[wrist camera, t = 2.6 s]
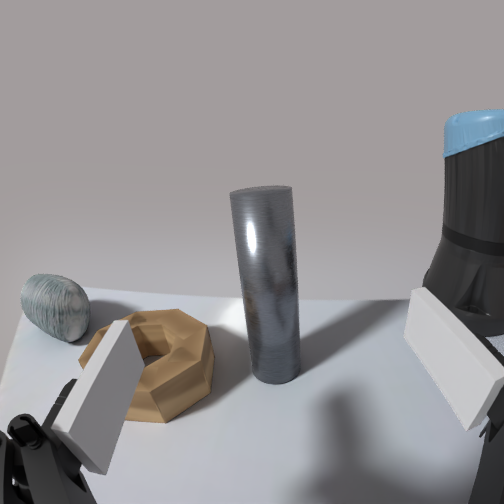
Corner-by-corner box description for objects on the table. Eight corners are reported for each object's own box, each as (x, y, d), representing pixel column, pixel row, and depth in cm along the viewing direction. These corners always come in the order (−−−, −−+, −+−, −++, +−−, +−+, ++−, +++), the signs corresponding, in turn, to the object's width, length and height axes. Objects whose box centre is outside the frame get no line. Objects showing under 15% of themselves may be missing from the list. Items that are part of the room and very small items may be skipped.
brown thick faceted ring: (217, 336, 32) (210, 305, 30) (207, 423, 20) (195, 392, 19) (119, 340, 32) (109, 312, 30) (82, 415, 21) (62, 384, 19)
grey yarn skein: (9, 314, 32) (16, 252, 32) (57, 313, 41) (66, 258, 40) (41, 368, 26) (48, 293, 26) (99, 358, 35) (111, 294, 35)
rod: (296, 350, 28) (287, 184, 23) (303, 380, 24) (296, 191, 19) (252, 355, 28) (231, 189, 23) (253, 386, 24) (227, 198, 19)
